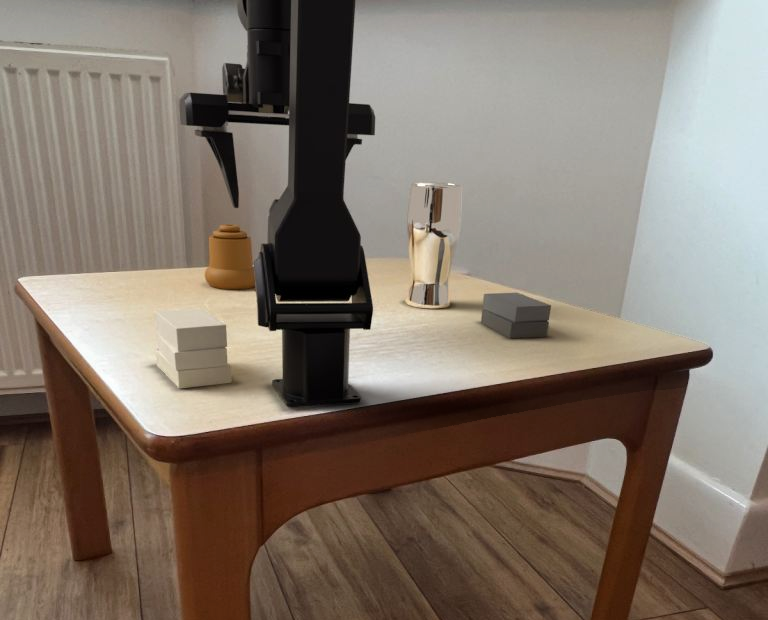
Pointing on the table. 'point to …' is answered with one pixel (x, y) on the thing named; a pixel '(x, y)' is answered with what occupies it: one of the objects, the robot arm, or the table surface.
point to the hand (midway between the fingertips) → (279, 208)
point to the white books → (193, 365)
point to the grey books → (515, 315)
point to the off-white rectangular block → (190, 329)
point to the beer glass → (432, 241)
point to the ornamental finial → (230, 259)
